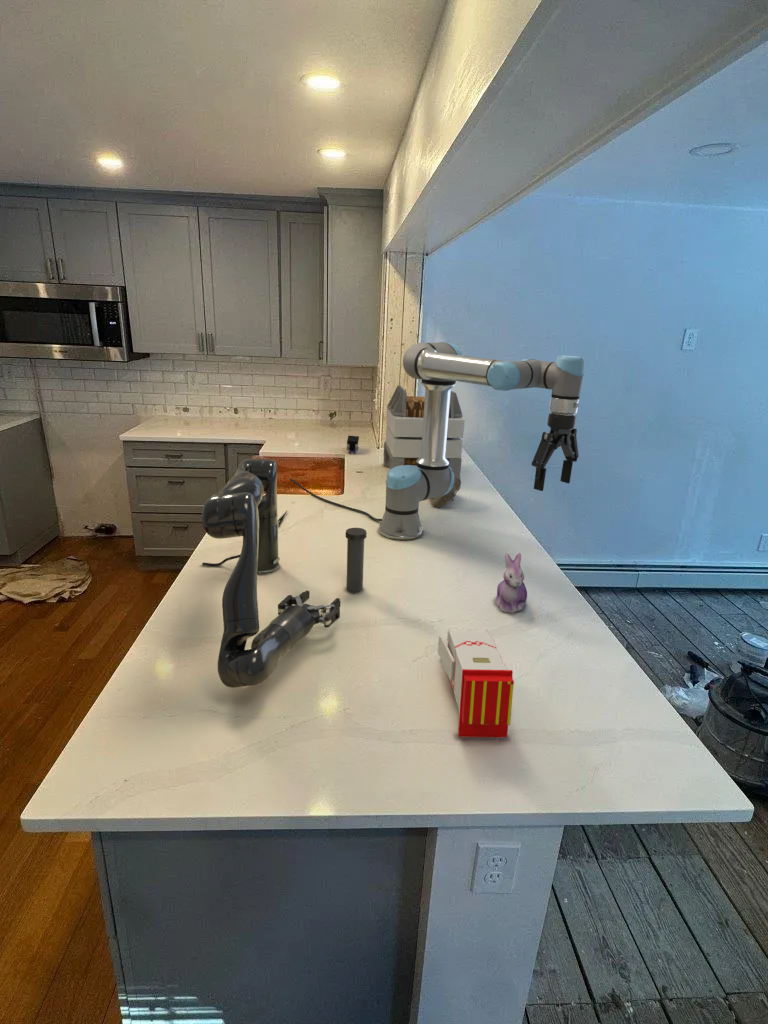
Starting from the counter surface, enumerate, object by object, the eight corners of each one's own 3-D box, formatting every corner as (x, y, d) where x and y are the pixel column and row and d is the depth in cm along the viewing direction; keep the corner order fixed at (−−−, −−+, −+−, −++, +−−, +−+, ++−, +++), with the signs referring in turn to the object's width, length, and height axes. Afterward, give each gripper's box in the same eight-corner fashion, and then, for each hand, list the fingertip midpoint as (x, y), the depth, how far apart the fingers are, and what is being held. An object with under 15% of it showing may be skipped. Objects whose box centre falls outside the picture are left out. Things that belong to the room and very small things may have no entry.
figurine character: (358, 457, 304) (359, 447, 317) (358, 443, 301) (359, 434, 314) (345, 456, 304) (347, 447, 317) (346, 443, 300) (347, 434, 314)
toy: (488, 613, 130) (523, 677, 101) (484, 667, 133) (517, 744, 104) (435, 612, 130) (455, 676, 101) (432, 666, 133) (451, 743, 103)
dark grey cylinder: (345, 586, 161) (346, 530, 155) (360, 585, 162) (362, 529, 156) (347, 593, 157) (349, 536, 151) (364, 592, 158) (366, 535, 152)
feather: (294, 505, 227) (296, 501, 226) (277, 528, 200) (280, 524, 199) (290, 503, 226) (292, 499, 226) (273, 526, 200) (276, 521, 199)
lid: (343, 533, 156) (343, 528, 155) (364, 532, 157) (364, 527, 157) (347, 541, 151) (347, 535, 150) (368, 540, 152) (368, 534, 151)
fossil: (425, 482, 246) (454, 463, 241) (438, 498, 249) (467, 480, 244) (424, 503, 227) (455, 483, 222) (438, 521, 229) (469, 501, 224)
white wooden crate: (382, 463, 289) (386, 382, 275) (445, 464, 293) (451, 384, 279) (390, 482, 257) (394, 392, 243) (460, 483, 261) (468, 394, 247)
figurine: (509, 617, 148) (516, 565, 143) (485, 599, 156) (491, 550, 151) (537, 610, 152) (544, 559, 147) (512, 593, 161) (519, 544, 156)
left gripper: (316, 621, 123) (349, 590, 137) (261, 606, 128) (298, 578, 142) (316, 651, 126) (348, 617, 140) (262, 635, 131) (298, 604, 145)
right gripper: (548, 419, 148) (537, 496, 155) (598, 411, 163) (586, 482, 171) (524, 414, 153) (515, 489, 160) (575, 407, 169) (564, 476, 176)
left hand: (323, 597), depth 141 cm, fingers open, 8 cm apart
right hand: (551, 485), depth 166 cm, fingers open, 13 cm apart
